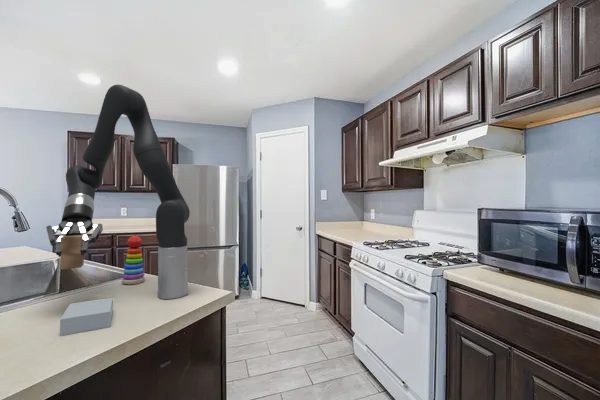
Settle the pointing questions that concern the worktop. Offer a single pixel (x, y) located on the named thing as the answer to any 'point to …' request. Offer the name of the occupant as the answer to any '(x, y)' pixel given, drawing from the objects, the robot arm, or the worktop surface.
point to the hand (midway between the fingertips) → (71, 253)
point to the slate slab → (86, 316)
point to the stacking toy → (133, 262)
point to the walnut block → (71, 252)
